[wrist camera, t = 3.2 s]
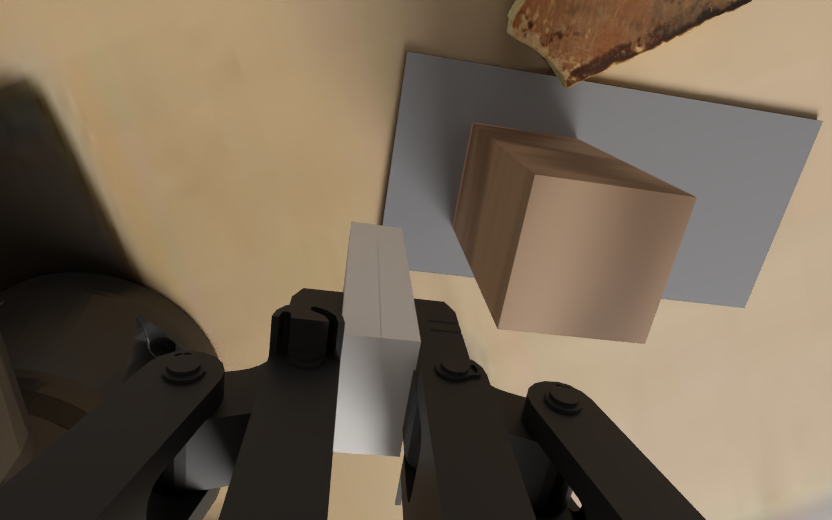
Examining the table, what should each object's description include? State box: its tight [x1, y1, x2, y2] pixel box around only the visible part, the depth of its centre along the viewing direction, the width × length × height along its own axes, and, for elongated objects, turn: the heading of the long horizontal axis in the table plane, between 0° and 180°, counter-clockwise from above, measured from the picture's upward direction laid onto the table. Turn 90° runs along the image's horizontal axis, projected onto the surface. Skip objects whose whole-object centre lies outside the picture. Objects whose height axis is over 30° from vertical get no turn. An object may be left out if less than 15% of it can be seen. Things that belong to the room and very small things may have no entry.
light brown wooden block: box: [452, 122, 697, 344], centre depth 26 cm, size 6×6×12 cm
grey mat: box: [382, 51, 823, 308], centre depth 32 cm, size 24×12×1 cm, turn 81°
